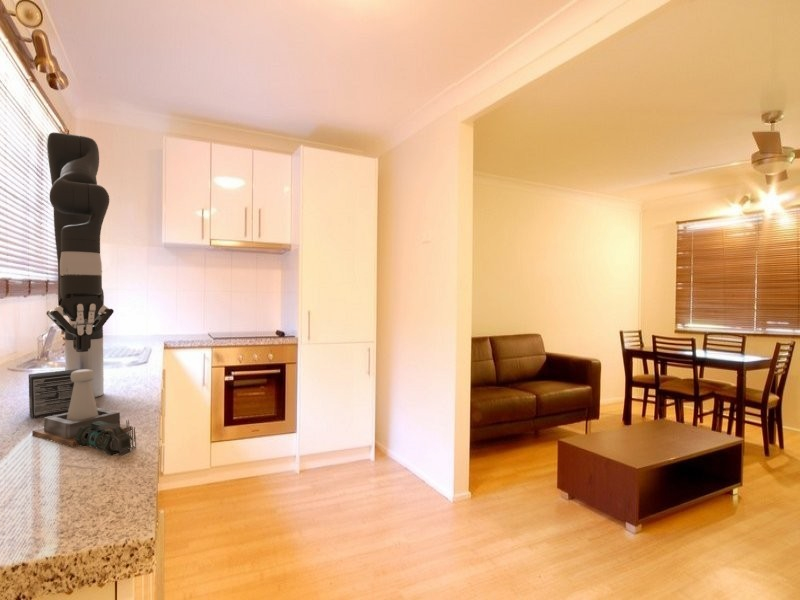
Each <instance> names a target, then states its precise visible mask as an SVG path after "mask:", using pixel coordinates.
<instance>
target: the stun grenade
mask: <svg viewBox="0 0 800 600" xmlns="http://www.w3.org/2000/svg"><path fill="white" fill-rule="evenodd" d="M129 420H130V419H126V420H125V425H127V432H125V431H124V430H123V429H122V428H121V427H120V426H117V425H113V424H110V423H106V422H103V421H96V422H93V423H91V424H89V425H85V426H81V427H80V428H79V430H78V432H77V434H76V436H75V438H74V439H75V440H76V441H77V442H78V443H79V444H80V445H81V447H83V446H87V447H90V448H94V449H98V450H99V451H100V450H101V451H103V452H104V453H105V454H106V455H108V456H111V457H112V456H115V455H118V456H119V457H121V456H123V455H124V456H125V455H126V454H129V453H131V452H132V450H133V448H134V449H137V440H136V439H137V437H136V427H135V426H134V427H133V426H132V431H130V426H131V425H130V421H129ZM99 426H102V427H105V428H108V429H112V431H113V432H112V431H108V430H105V429H101V428H99ZM128 426H129V431H128ZM80 445H79V446H80Z"/></svg>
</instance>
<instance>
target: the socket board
mask: <svg viewBox="0 0 800 600" xmlns="http://www.w3.org/2000/svg"><path fill="white" fill-rule="evenodd" d="M97 411H98V415H99V416H95V417H91V418H86V419H82V420H78V421H70V420H67V415H68V413H63V414H58V415H52V416H46V417H43V427H42V428H37V429H34V430H32V436H34V437H37V438H41V439H44V440H47V439H48V440H47V441H50V440H52V441H51V442H54V441H55V442H54V443H57V442H58V443H57V444H60V443H61V444H60V445H63V444H64V446H67V445H68V446H67V447H70V446H71V447H70V448H75V447H78V445H79V446H80V444H79V443H78V442H77V441H76V440H75V439H74V438H75V436H76V434H77V432H78V430H79V428H80V427H81V426H85V425H89V424H91V423H93V422H96V421H103V422H106V423H110V424H113V425H117V426H120V427H121V428H122V429H123V430H124V431H125V432H126V433H128V432H127V425H126V424H122V423H121V415H120V414H121V413H120V411H115V410H110V409H107V408H101V407H97ZM132 427H133V426H132V425H130V432H132V431H131V430H132ZM99 428H101V429H105V430H108V431H112V429H108V428H105V427H102V426H99ZM128 431H129V426H128ZM112 432H113V431H112Z"/></svg>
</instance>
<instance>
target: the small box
mask: <svg viewBox="0 0 800 600" xmlns="http://www.w3.org/2000/svg"><path fill="white" fill-rule="evenodd" d="M76 370H78V369H74V370H65V369H64V370H58V371H57V370H56V371H47V372H39V373H38V372H37V373H29V374H28V398H29V399H28V400H29V401H28V402H29V406H28V407H29V416H30V418H31V419H32V420H33V419H38V418H45V417H49V416H51V415H52V416H54V415H57V414H58V415H59V414H63V413H68V410H69V406H70V402H71V397H72V392H73V387H74V382H72V381H71V373H72V372H73V371H76Z"/></svg>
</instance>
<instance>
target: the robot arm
mask: <svg viewBox="0 0 800 600" xmlns="http://www.w3.org/2000/svg"><path fill="white" fill-rule="evenodd" d="M46 152H47V160H48V166H49V173H50V180H51V187H50V191H49V201H50V204H51V207H52V208H53V227H54V240H55V241H54V242H55V249H56V258H57V303H58V304H57V306H55V307H54V308H52V309H51V310H50V309H49V310H47V311H46V316H47V317H48V318H49V319H50V320H51V321H52V322H53V323H54V324H55V325H56V326H57V327H58V328H59V329H60V330H61V331H62V332H63V333H64V349H65V351H64V355H65V356H64V357H65V358H64V359H65V362H64V363H65V365H64V371H65V370H74V369H78V370H82V369H89V370H92V371H93V372H94V379H93V380H91V383H92V387H93V392H94V397H95V398H97V397H101V396H103V395H104V387H105V386H104V380H105V379H104V377H105V376H104V330H103V329H104V325H105V324H106V322H108V320H109V319H110V318H111V316H112V315H113V314H114V309H113V308H108V307H107V306H106V305H105V301H104V300H105V297H104V296H105V295H104V289H103V277H102V276H103V269H102V268H103V265H102V258H101V232H102V226H103V222H104V220H105V217H106V214H107V211H108V208H109V206H110V195H109V193H108V190H107V189H106V188H105V187H103V186H102V185H100V184H98V182H97V175H98V171H99V167H100V151H99V146H98V144H97V142H96V141H95V140H94V139H93V138H92V137H89V136H84V135H78V134H69V133H62V132H49V134H48V135H47V138H46ZM65 316H66V317H67V318H68V320H67V319H66V318H65Z"/></svg>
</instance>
